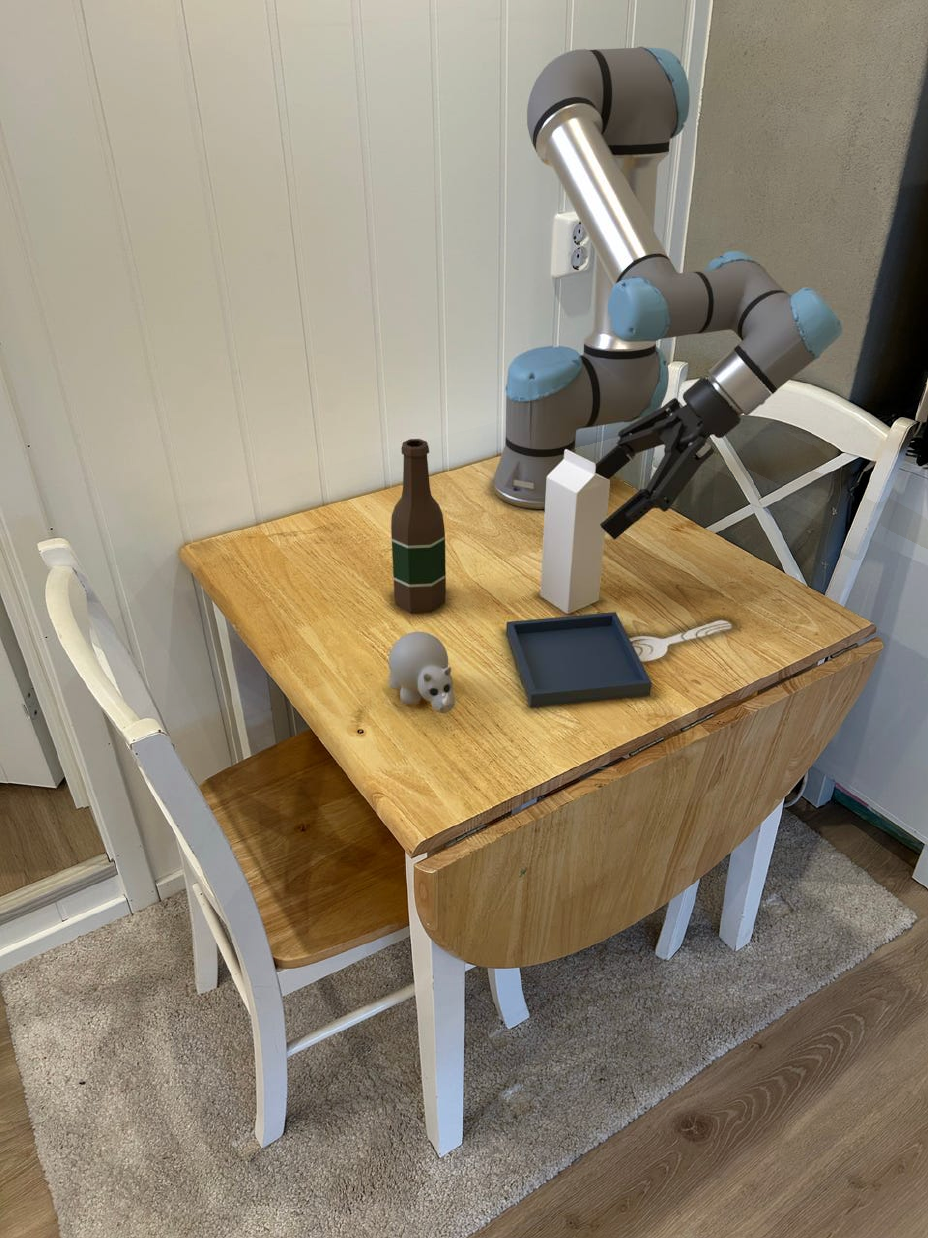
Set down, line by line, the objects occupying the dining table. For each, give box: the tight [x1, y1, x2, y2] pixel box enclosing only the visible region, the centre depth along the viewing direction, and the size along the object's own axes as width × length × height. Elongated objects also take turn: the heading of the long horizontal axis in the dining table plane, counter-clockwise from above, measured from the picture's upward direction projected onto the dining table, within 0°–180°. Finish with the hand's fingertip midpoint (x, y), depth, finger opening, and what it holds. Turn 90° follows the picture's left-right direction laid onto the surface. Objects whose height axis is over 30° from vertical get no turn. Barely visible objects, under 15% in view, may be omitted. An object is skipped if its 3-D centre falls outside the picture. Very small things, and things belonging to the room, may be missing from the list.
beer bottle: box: [390, 438, 447, 614], centre depth 129 cm, size 8×8×24 cm
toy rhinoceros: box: [388, 631, 456, 714], centre depth 114 cm, size 7×12×8 cm, turn 25°
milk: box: [539, 449, 611, 615], centre depth 130 cm, size 6×6×22 cm
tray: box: [505, 611, 653, 709], centre depth 123 cm, size 16×15×2 cm
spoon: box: [629, 619, 733, 663], centre depth 128 cm, size 5×18×1 cm, turn 115°
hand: (597, 507), depth 128 cm, fingers open, 13 cm apart
